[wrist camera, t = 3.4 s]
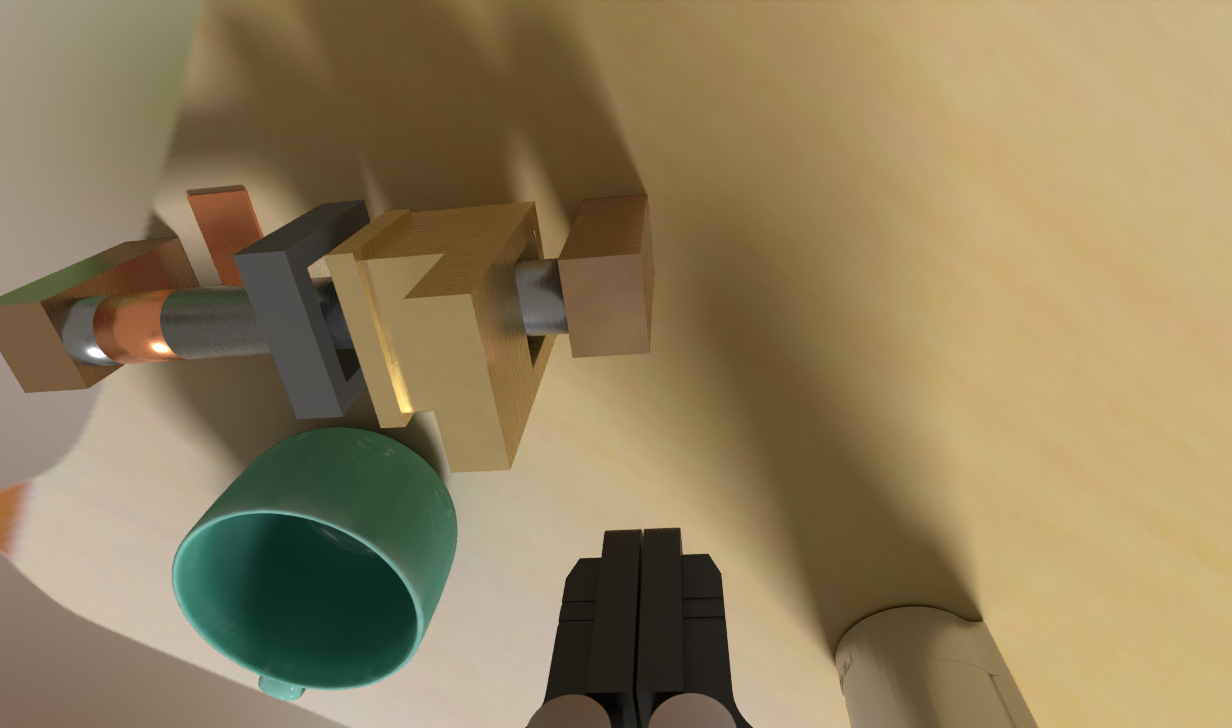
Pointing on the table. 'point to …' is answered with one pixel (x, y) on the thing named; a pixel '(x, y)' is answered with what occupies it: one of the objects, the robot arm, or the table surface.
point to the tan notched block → (446, 324)
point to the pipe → (226, 322)
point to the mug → (320, 562)
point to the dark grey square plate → (304, 309)
